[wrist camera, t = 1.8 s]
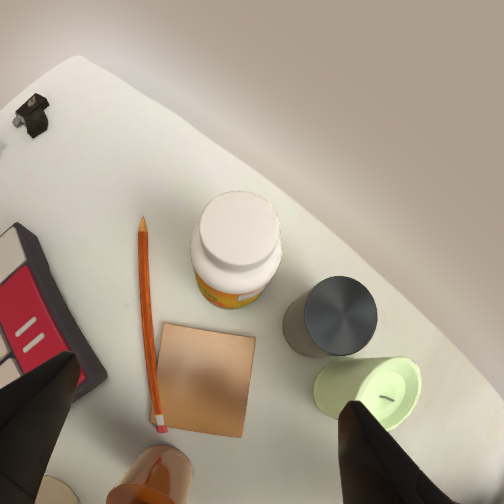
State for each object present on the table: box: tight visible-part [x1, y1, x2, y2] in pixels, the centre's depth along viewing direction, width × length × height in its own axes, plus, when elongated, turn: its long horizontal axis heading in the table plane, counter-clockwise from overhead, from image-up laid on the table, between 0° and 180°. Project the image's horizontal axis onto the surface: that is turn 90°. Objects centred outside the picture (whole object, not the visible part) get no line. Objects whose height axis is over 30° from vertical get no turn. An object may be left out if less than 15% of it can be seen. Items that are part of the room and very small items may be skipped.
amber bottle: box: [106, 445, 193, 504], centre depth 12 cm, size 4×4×11 cm
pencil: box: [138, 215, 167, 433], centre depth 21 cm, size 1×18×1 cm, turn 9°
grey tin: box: [283, 276, 377, 357], centre depth 20 cm, size 5×5×6 cm
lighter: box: [12, 93, 49, 138], centre depth 26 cm, size 8×2×5 cm
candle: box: [313, 357, 421, 432], centre depth 17 cm, size 5×5×8 cm
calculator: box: [0, 222, 107, 403], centre depth 18 cm, size 11×4×15 cm
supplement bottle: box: [190, 191, 282, 310], centre depth 19 cm, size 5×5×10 cm
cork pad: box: [150, 323, 256, 438], centre depth 20 cm, size 8×7×1 cm
